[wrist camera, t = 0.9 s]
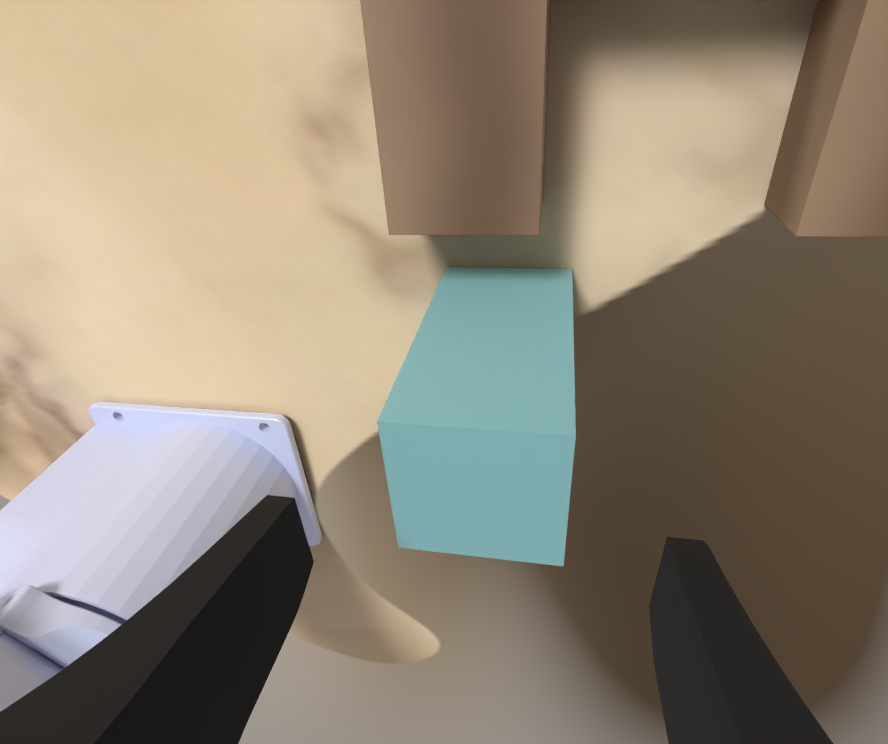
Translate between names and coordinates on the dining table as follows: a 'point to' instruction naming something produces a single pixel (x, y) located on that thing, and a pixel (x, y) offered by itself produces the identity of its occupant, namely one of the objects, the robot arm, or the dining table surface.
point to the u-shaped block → (524, 111)
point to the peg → (486, 418)
